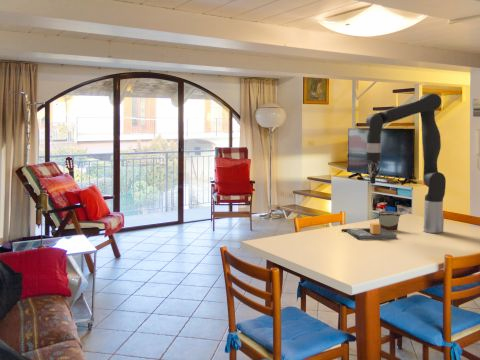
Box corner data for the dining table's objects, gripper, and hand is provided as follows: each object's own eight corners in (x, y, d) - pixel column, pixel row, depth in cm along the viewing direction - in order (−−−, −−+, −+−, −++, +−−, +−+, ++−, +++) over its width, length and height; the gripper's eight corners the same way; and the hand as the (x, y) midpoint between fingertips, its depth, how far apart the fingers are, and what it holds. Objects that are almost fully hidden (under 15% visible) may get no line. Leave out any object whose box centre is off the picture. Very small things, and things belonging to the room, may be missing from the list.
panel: (381, 231, 262) (382, 227, 262) (396, 238, 244) (396, 234, 244) (347, 232, 260) (347, 228, 259) (359, 239, 242) (359, 235, 242)
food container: (397, 228, 269) (397, 211, 268) (399, 230, 263) (400, 213, 262) (375, 228, 270) (375, 210, 269) (377, 230, 264) (377, 212, 263)
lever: (377, 235, 249) (377, 222, 248) (380, 236, 245) (380, 224, 244) (369, 235, 249) (370, 223, 248) (372, 237, 245) (373, 224, 244)
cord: (346, 232, 259) (346, 230, 258) (349, 232, 259) (349, 230, 259) (357, 239, 242) (357, 237, 242) (360, 239, 242) (360, 236, 242)
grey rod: (359, 230, 263) (359, 228, 263) (360, 231, 262) (360, 228, 262) (340, 231, 262) (340, 228, 262) (341, 231, 261) (341, 229, 260)
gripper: (385, 152, 248) (384, 184, 250) (375, 151, 261) (374, 182, 263) (371, 152, 247) (370, 185, 249) (362, 151, 261) (361, 182, 262)
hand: (372, 183), depth 256 cm, fingers closed
